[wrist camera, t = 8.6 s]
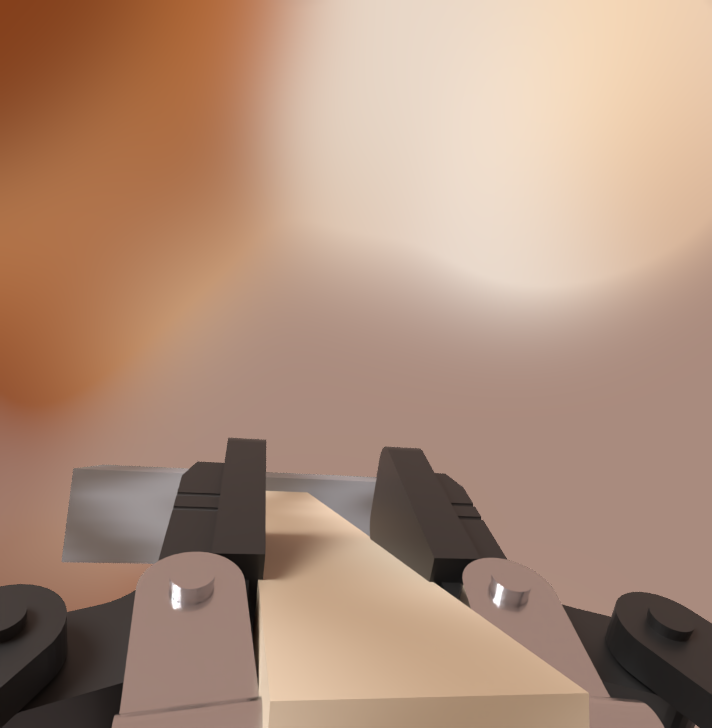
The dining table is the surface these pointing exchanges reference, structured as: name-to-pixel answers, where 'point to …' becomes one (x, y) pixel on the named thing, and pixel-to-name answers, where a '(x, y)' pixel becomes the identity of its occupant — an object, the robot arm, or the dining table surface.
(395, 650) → the scraper
